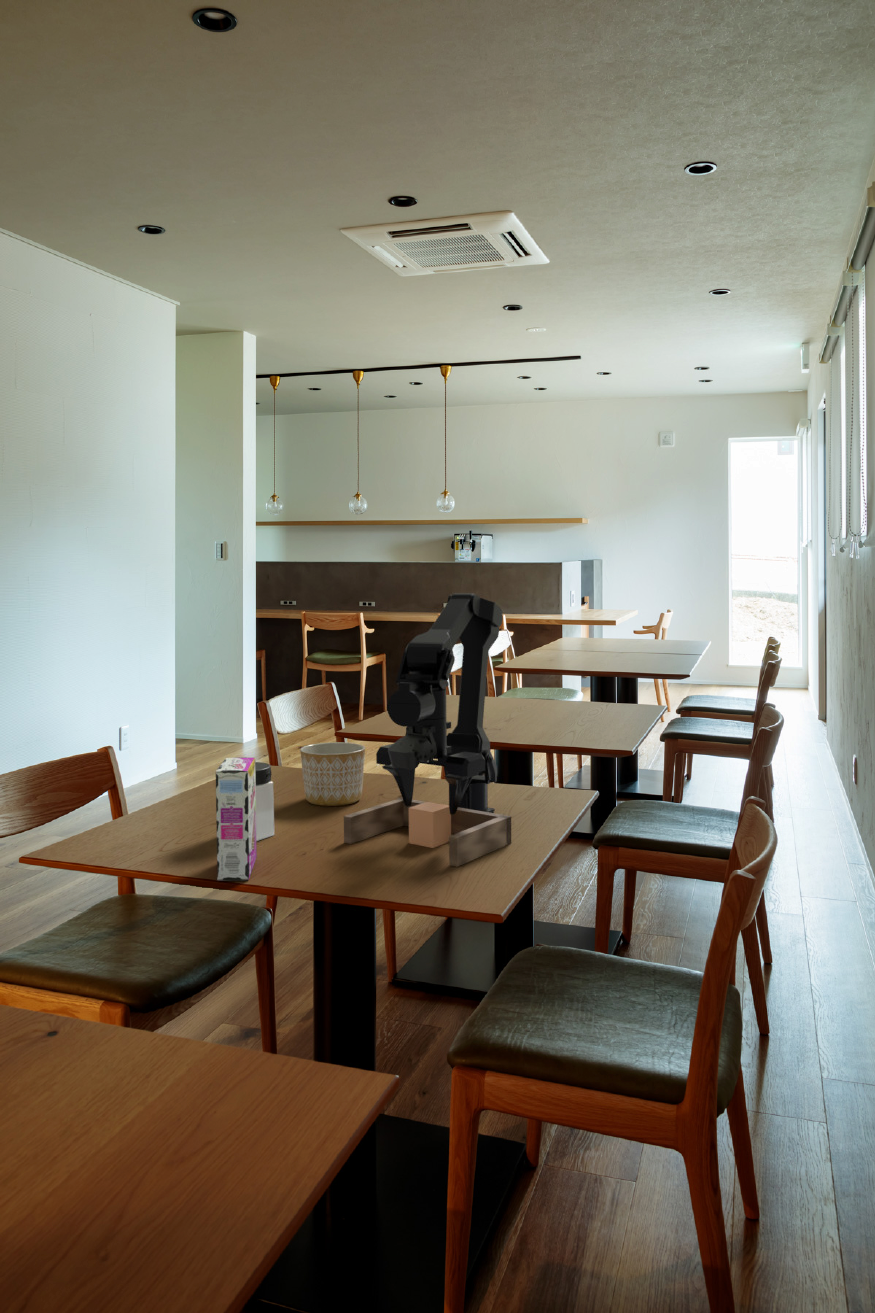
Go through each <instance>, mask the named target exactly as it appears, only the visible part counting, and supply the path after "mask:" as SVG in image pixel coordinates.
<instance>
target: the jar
mask: <svg viewBox="0 0 875 1313" xmlns="http://www.w3.org/2000/svg"><path fill="white" fill-rule="evenodd" d="M255 774H256V842H260V841H261V840H264V839H267V838H271V837H273V836H275V809H274V808H275V806H274V805H275V803H274V802H275V800H274V782H273V781H272V775H273V774H272V765H271V764H269V763H266V762H260V761H255Z"/></svg>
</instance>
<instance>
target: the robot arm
mask: <svg viewBox="0 0 875 1313" xmlns="http://www.w3.org/2000/svg"><path fill="white" fill-rule="evenodd" d="M446 602H447V603H446V604H445V606H444V608H443V609H442V610H441V612H440V614H439V615H438V616H437V618H436V620H435V621H434V623H433V624H432V626H431V627H430V628H429V630H428V631H426V632H423V633H420V634H417V635H416V636H415V637H413V639H411V640H410V642H408V644H407V646H406V648H405V649H404V650H403V654H402V658H401V662H400V665H399V669H398V672H397V676H396V679H395V683H396V684H397V685H398V690H397V691H395V692H393V693H392V694H391V696H390V697H389V699H388V702H387V704H386V705H387V706H386V710H387V714H388V717H389V718H390V720H391V721H392V722H394V724H395V725H397V726H400V727H406V728H405V734H404V736H402V737H400V738H399V739H397V740H396V741H395V742H394V743H390V744H385V745H382V746H379V748H378V749H377V750H376V754H375V756H376V761H375V762H376V764H377V765H382V766H381V767H382V769H383V770H386V771H388V772H389V774H391V775H392V777H393V778H394V780H395V782H396V785H397V787H398V789H399V793H400V795H401V798H403V801H404V804H405V806H406V807H409V806H411V803H412V800H413V796H414V788H415V776H416V769H417V768H418V767H419V766H420V764H424V765H431V766H436V767H437V766H438V767H443V771H444V778H445V781H446V782H447V783H448V806H449V810H450V814H451V815H453V814H455V813H456V811H457V809H458V807H459V808H465V809H471V810H477V811H483V812H489V813H494V812H496V811H495V808H492V807H488V805H489V804H488V803H489V802H488V798H489V797H488V795H489V794H488V792H489V791H488V789H489V788H488V785H490V784H493V783H497V779H498V778H497V777H498V766H497V764H496V762H495V758H494V756H493V755H492V752H491V742H490V740H489V738H488V735H487V734H486V732H485V730H484V728H483V727H484V713H485V704H486V703H485V700H486V690H487V689H486V688H487V674H488V662H489V652H490V649H491V648H492V646H493V645H494V644H495V642H497V641H496V640H498V638H499V636H500V635H499V633H500V627H501V626H502V624H503V610H502V608H501V607H500V606H499V605H498V604H497V603H496V602H495V601H491V600H488V599H485V598H482V597H480V596H479V595H478V594H475V593H471V592H468V593H467V592H466V593H465V592H455V593H454V592H453V593H452V594H449V595H448V597H447V601H446ZM458 640H459V641H460V643H461V644H462V648H463V651H462V660H461V661H462V662H461V673H460V675H461V676H460V686H459V687H460V688H459V700H458V711H457V720H456V722H457V723H456V726H455V727H454V729H453V730H452V731H451V732H448V733H447V730H448V729H452V721H447V687H448V686H449V682H448V681H449V678H450V676H451V672H452V670H453V667H454V664H455V661H456V660H455V658H456V657H455V655H454V650H453V649H454V647H455V645H456V644H457V642H458Z"/></svg>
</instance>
